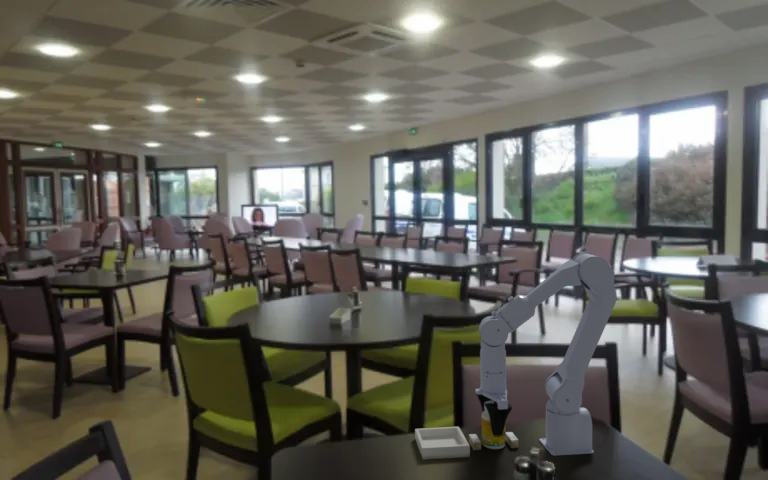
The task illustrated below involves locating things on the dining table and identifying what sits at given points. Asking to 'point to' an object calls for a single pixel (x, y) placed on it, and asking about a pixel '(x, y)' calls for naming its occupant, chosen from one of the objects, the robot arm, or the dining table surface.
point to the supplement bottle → (487, 436)
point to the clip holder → (476, 442)
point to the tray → (441, 443)
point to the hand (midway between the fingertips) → (493, 429)
